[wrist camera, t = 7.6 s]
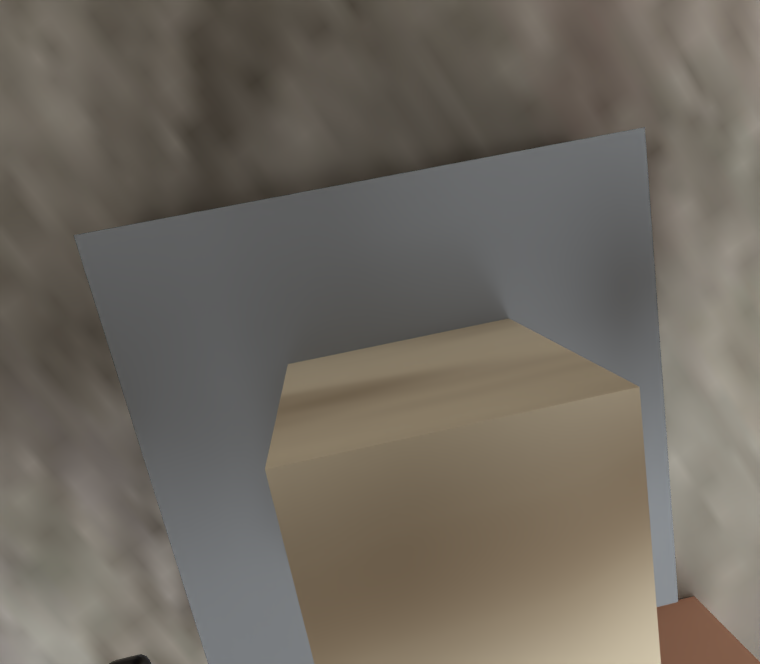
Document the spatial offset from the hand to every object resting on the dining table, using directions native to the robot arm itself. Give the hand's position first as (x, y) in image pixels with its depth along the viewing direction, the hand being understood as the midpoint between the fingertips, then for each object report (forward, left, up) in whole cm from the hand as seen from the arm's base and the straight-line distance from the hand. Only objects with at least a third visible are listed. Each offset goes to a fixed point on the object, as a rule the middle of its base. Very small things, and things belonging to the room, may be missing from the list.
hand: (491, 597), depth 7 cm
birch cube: (0, 0, -5) cm, 5 cm away
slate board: (0, 0, -8) cm, 8 cm away
